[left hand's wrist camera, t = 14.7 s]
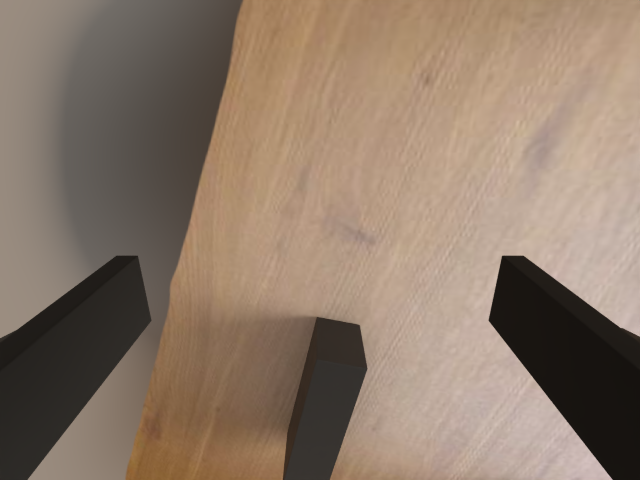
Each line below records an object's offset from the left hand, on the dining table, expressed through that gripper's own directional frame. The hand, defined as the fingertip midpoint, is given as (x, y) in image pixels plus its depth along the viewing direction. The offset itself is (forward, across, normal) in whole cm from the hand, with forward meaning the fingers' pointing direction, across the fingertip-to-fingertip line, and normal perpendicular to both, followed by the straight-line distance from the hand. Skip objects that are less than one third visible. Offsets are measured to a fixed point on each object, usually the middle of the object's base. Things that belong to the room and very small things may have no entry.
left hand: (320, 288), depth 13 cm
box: (+30, 0, -33) cm, 44 cm away
